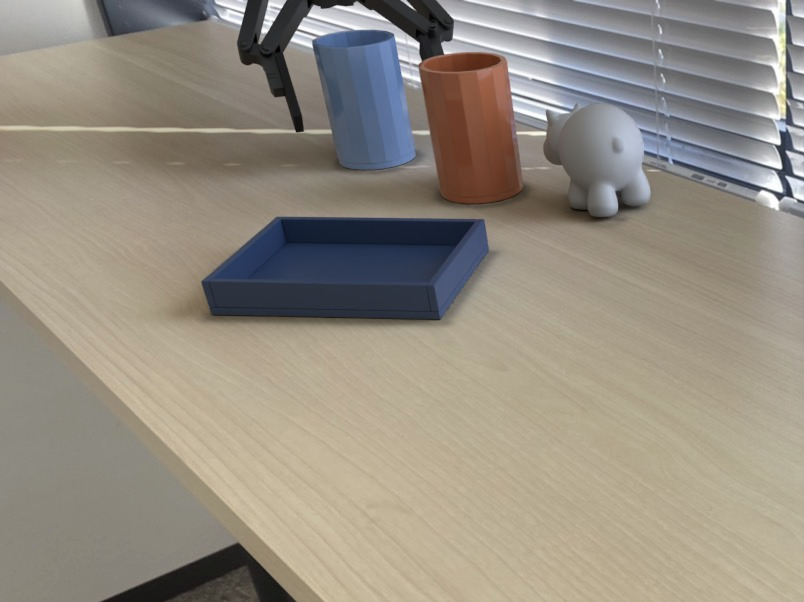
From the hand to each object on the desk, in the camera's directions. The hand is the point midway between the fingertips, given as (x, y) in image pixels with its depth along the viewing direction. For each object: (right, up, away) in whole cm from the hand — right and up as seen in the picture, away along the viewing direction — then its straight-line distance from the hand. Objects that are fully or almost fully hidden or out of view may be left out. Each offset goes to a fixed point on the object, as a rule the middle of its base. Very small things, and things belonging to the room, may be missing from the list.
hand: (372, 114), depth 109 cm
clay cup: (+11, -8, -4) cm, 15 cm away
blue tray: (+5, -21, -20) cm, 30 cm away
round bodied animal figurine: (+22, -10, -7) cm, 25 cm away
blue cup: (-1, -3, +4) cm, 5 cm away
